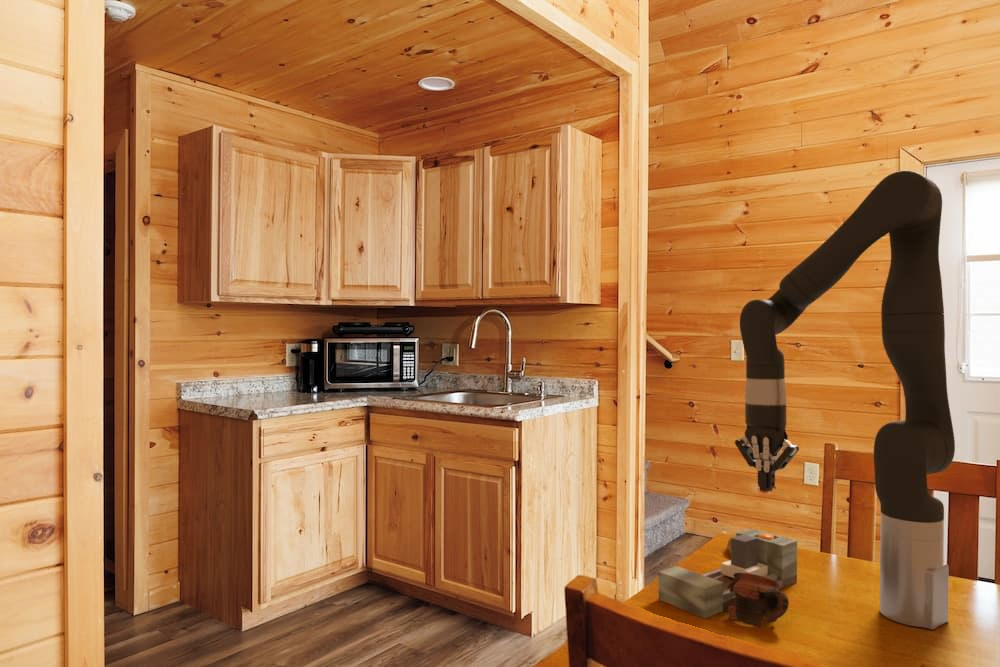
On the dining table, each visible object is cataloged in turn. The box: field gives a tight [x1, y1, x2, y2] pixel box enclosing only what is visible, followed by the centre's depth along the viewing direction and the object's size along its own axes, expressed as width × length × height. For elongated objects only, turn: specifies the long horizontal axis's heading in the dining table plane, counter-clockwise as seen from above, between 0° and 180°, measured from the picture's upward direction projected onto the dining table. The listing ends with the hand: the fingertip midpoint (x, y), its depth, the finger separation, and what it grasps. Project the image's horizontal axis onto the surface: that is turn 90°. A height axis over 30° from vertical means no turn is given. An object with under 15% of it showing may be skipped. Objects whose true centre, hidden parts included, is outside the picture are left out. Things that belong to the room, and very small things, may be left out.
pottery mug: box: [727, 573, 790, 629], centre depth 116 cm, size 12×10×8 cm
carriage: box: [720, 534, 768, 578], centre depth 130 cm, size 6×6×7 cm
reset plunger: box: [758, 533, 774, 541], centre depth 134 cm, size 3×3×6 cm
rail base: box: [658, 528, 798, 619], centre depth 128 cm, size 10×28×8 cm, turn 126°
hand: (766, 490), depth 134 cm, fingers closed
